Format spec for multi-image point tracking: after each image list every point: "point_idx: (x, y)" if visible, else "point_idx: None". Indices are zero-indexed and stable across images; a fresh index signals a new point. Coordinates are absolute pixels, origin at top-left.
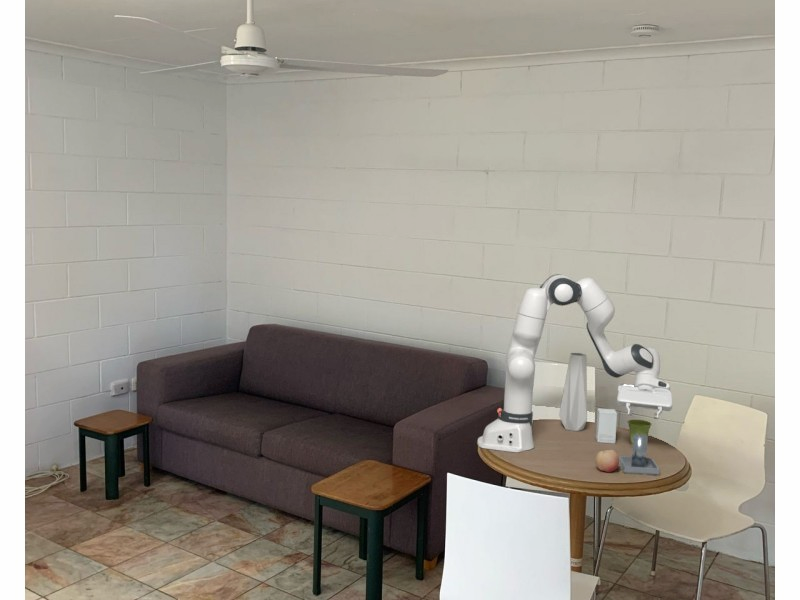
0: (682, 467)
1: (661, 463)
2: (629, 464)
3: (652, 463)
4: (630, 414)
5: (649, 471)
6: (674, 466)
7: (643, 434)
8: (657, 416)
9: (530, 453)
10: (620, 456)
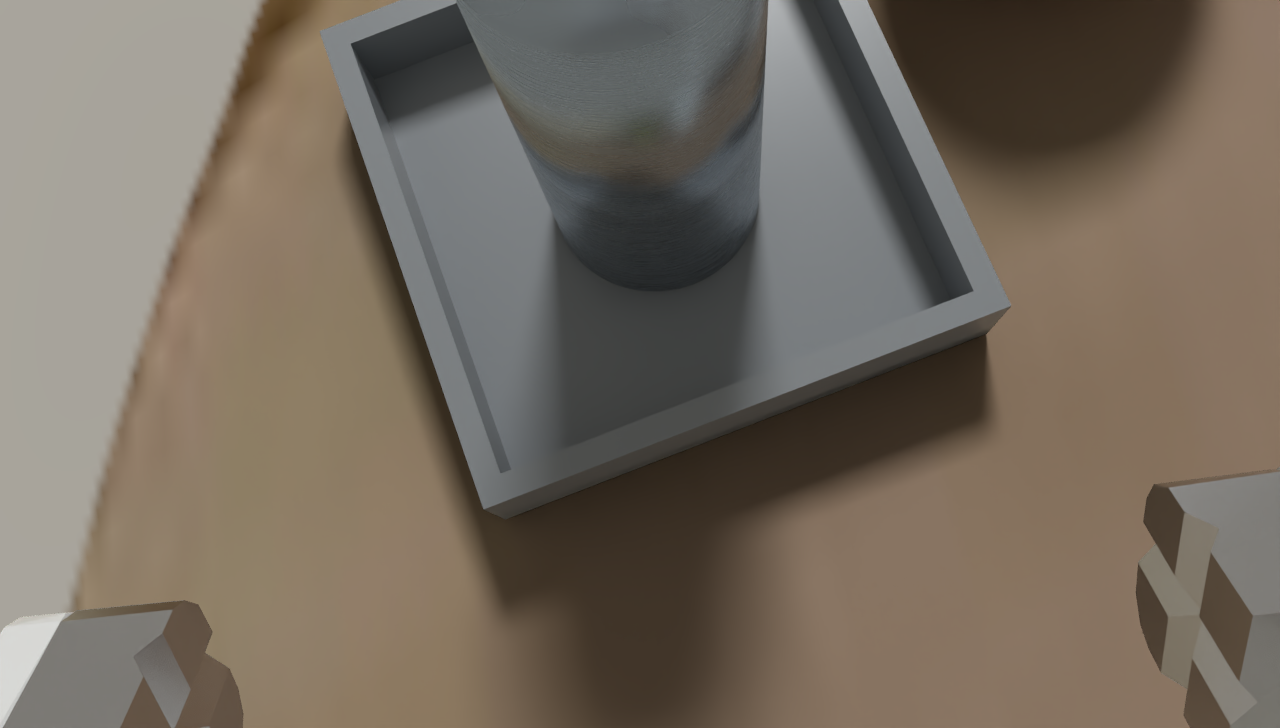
0: None
1: (378, 670)
2: (799, 243)
3: (469, 366)
4: (1212, 481)
5: None
6: None
7: (549, 18)
8: (33, 618)
9: None
10: (980, 286)
